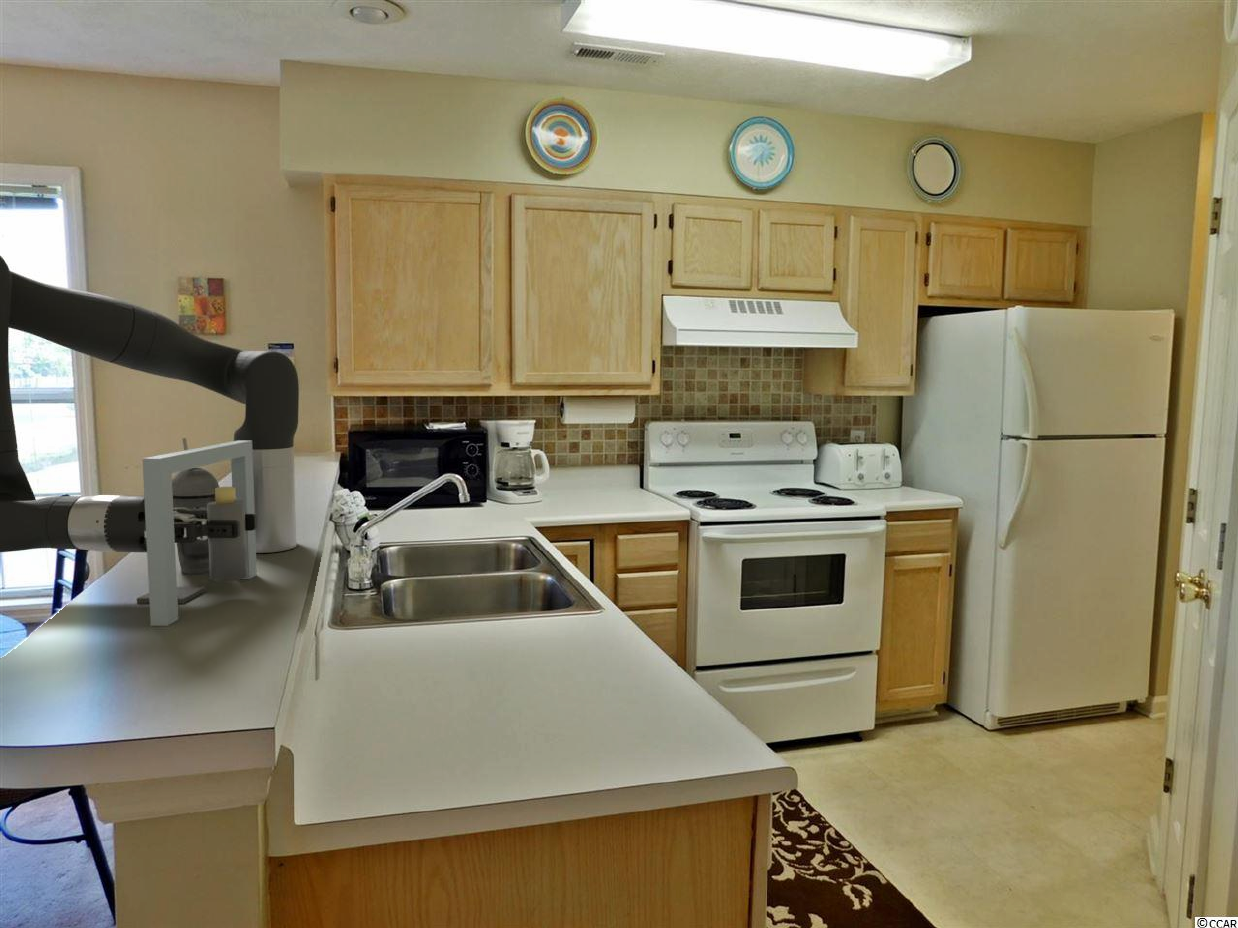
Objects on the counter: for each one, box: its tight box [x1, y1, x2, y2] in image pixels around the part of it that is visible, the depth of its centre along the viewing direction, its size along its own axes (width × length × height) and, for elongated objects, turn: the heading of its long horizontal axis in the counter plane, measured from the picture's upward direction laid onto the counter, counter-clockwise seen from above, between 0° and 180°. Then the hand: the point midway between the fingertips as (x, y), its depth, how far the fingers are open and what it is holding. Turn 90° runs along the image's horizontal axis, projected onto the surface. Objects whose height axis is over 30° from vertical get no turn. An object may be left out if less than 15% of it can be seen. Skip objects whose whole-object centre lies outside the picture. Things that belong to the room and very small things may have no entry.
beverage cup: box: [172, 437, 220, 575], centre depth 127 cm, size 7×7×20 cm
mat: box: [136, 586, 206, 604], centre depth 114 cm, size 6×6×1 cm
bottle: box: [207, 486, 247, 582], centre depth 113 cm, size 4×4×12 cm
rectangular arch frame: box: [142, 440, 258, 627], centre depth 113 cm, size 25×2×20 cm, turn 0°
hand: (247, 525), depth 113 cm, fingers closed on bottle, 4 cm apart
